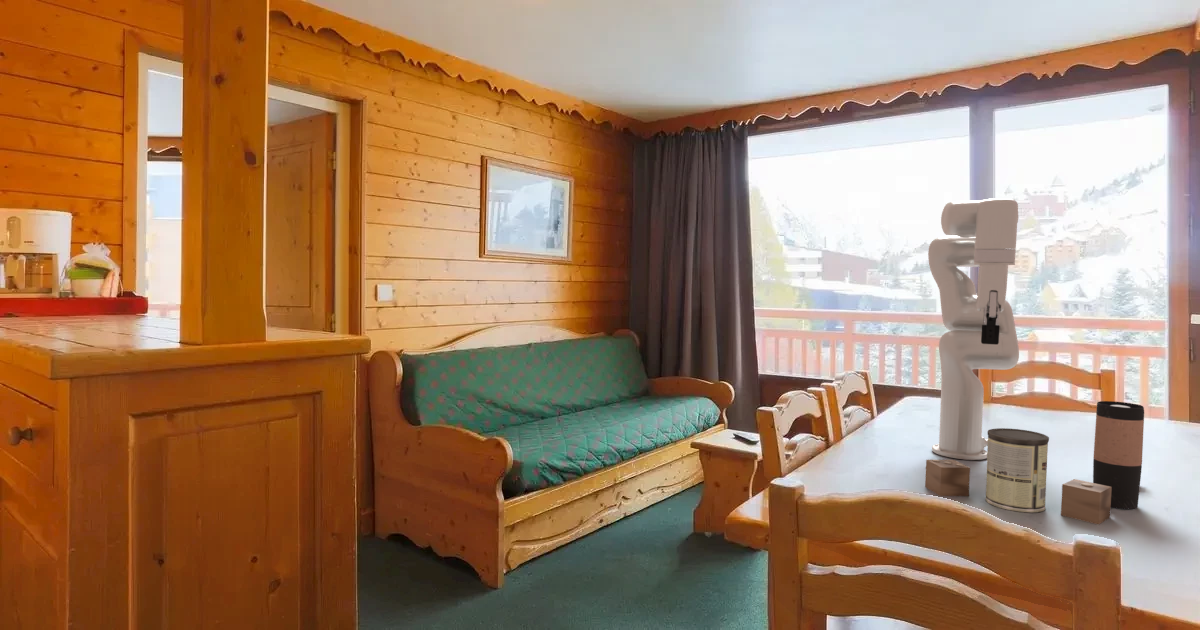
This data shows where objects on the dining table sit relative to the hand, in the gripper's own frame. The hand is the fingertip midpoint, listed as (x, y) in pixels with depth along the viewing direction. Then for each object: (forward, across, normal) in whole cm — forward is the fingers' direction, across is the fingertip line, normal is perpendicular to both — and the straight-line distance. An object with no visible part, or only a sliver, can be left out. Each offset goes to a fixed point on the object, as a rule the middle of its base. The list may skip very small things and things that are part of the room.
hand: (989, 343), depth 144 cm
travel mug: (+31, +3, +23) cm, 38 cm away
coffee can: (+30, +13, +5) cm, 33 cm away
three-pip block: (+30, +11, -7) cm, 33 cm away
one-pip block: (+30, +15, +16) cm, 37 cm away
